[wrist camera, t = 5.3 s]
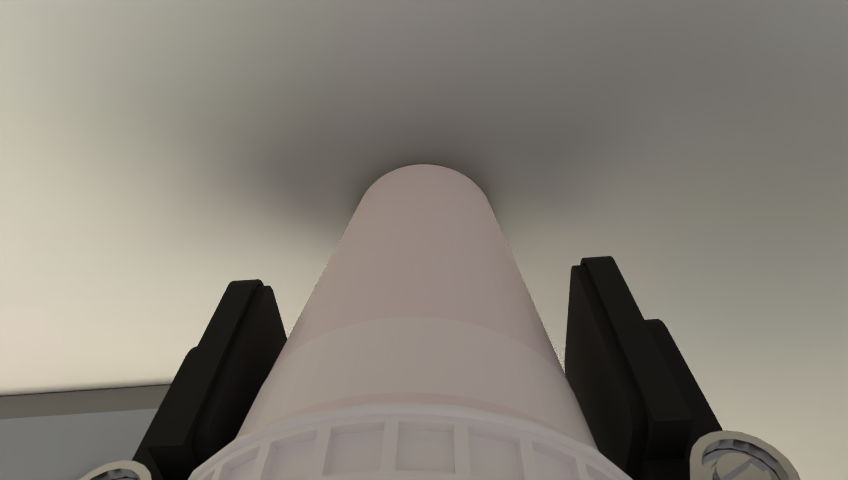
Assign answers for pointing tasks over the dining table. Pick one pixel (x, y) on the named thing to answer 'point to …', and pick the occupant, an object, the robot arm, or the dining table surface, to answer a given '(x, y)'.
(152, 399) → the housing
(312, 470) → the smoothie
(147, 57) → the dining table surface
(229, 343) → the robot arm
